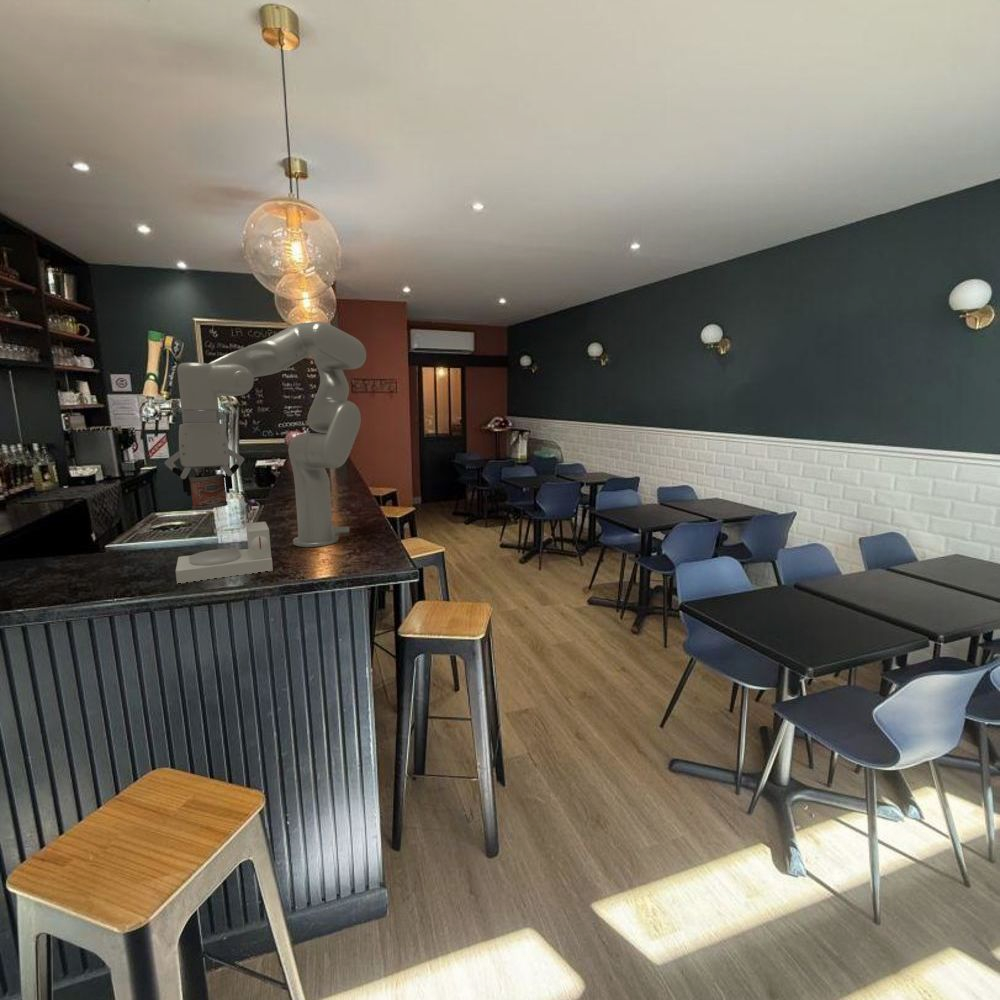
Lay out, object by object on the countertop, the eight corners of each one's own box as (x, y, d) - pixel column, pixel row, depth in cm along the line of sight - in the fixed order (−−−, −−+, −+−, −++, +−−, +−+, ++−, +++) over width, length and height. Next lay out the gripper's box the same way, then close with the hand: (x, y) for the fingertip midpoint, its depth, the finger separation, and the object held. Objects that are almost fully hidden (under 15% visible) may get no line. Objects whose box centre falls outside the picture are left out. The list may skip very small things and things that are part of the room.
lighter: (197, 510, 122) (192, 467, 121) (189, 509, 124) (184, 466, 122) (230, 505, 129) (226, 464, 127) (222, 503, 131) (218, 463, 129)
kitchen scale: (267, 557, 141) (264, 520, 139) (272, 570, 129) (269, 530, 128) (179, 568, 131) (175, 529, 130) (177, 584, 120) (172, 540, 118)
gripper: (242, 417, 130) (248, 488, 133) (158, 418, 122) (167, 494, 125) (243, 417, 124) (250, 493, 127) (155, 419, 116) (164, 499, 119)
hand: (209, 493), depth 126 cm, fingers closed on lighter, 7 cm apart
